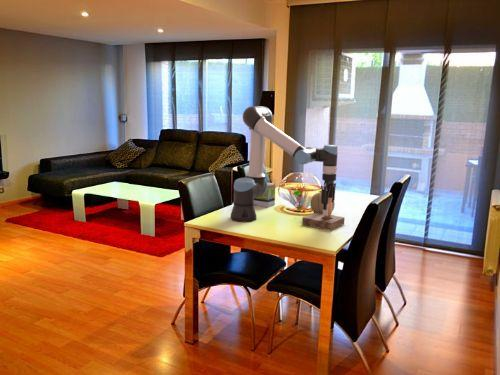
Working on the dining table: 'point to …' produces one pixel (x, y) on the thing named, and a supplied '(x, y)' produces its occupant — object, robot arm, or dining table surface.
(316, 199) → the cantaloupe
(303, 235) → the dining table surface
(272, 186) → the tea box
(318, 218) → the socket block
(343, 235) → the dining table surface
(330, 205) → the peg
